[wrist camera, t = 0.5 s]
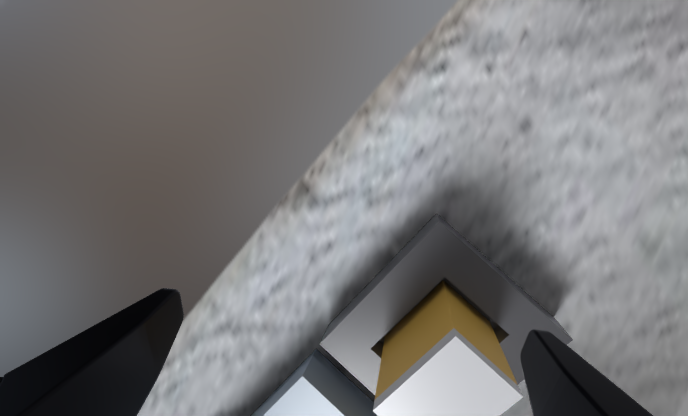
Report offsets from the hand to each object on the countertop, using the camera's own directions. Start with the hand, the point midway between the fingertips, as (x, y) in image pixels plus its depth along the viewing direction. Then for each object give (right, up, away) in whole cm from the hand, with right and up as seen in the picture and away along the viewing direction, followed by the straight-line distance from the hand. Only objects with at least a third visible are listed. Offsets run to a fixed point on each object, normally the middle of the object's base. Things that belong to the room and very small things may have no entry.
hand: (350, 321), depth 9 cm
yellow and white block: (+5, -4, +12) cm, 14 cm away
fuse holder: (+5, -4, +13) cm, 14 cm away
